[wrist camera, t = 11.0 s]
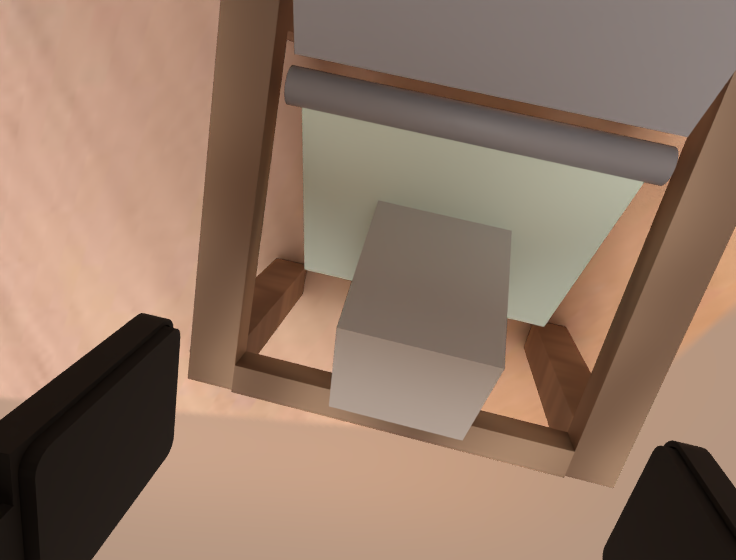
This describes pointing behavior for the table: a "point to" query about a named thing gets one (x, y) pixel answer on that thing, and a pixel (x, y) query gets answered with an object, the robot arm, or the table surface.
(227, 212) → the stand
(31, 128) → the table surface
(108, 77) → the table surface
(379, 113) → the trapdoor
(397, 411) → the stone
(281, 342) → the table surface
